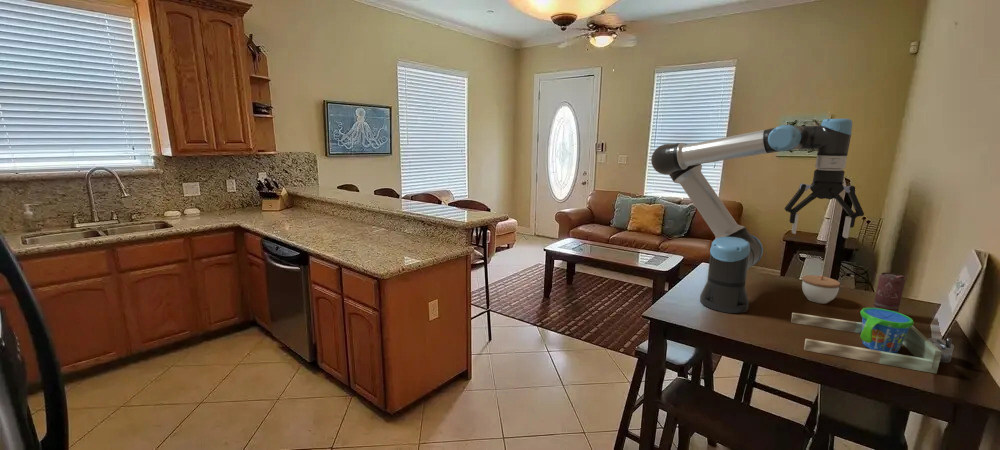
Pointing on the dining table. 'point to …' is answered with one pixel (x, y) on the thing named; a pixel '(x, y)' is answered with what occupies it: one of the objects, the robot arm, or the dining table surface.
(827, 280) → the lidded jar
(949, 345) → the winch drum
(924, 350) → the bay
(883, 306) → the can
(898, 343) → the snack cup
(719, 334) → the dining table surface
